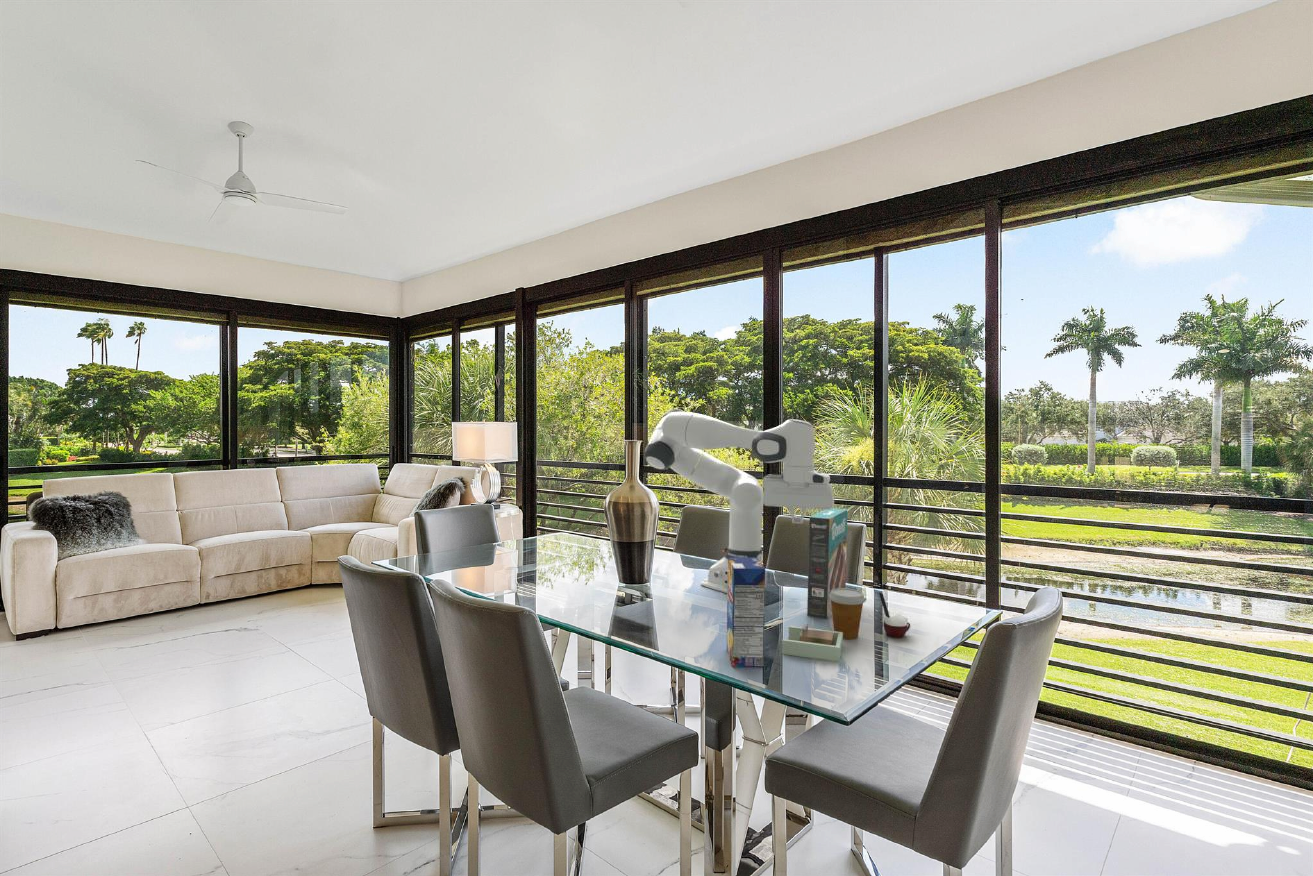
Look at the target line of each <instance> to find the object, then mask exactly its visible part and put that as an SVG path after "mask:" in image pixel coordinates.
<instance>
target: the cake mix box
mask: <svg viewBox="0 0 1313 876" xmlns="http://www.w3.org/2000/svg"><path fill="white" fill-rule="evenodd" d="M848 510H849V509H848V508H847V509H846V508H836V507H833V508H832V509H831V510H826V509H822V510H821V511H819V512H817V513H814V514H813V515H810V516H809V518H808V519H809V521H808V523H809V527H808V559H807V561H808V564H807V565H808V566H807V568H808V569H807V603H806V604H807V605H806V606H807V607H806V608H807V610H806V611H807V613H806V617H807V616H808V617H811V618H819V619H825V620H828V619H829V618H831V617H832V607H831V600H830V597H829V594H830V593H831V590H833V589H837V588H847V587H846V583H847V582H846V581H847V547H848V546H847V544H848Z"/></svg>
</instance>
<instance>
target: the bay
mask: <svg viewBox="0 0 1313 876" xmlns="http://www.w3.org/2000/svg"><path fill="white" fill-rule="evenodd" d="M803 627H804V626H803ZM803 627H801V626H795V625H788V639H786V638H783V639H782V641H781V642H782V644H781V654H782V655H787V656H788V655H789V656H794V657H802V658H809V659H816V660H817V659H818V660H824V661H830V662H838V663H839V662H840V660H841V654H842V651H843V650H842V649H843V644H844V643H843V641H844V640H843V632H837V631H834V630H827V629H826V630H825V629H820V628H818V629H817V628H812V627H811V628H810V627H808V629H810V630H818V631H826V632H834V646H833V645H825V644H818V643H810V642H802V641H799V636H800V633H801V631H802V629H803Z"/></svg>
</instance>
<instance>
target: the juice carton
mask: <svg viewBox="0 0 1313 876" xmlns="http://www.w3.org/2000/svg"><path fill="white" fill-rule="evenodd" d="M765 595H766V568H765V566H764V565H763V563H762V564H761V562H760V561H759V559H758V558H750V557H728V594H727V599H726V601H727V602H726V603H727V604H726V605H727V606H726V607H727V608H726V609H727V611H726V615H727V616H726V652H727V655H728V658H729V662H730V665H731V667H732V668H737V669H738V668H741V669H743V668H744V669H745V668H748V669H749V668H750V669H751V668H752V669H754V668H755V669H763V668H764V653H765V652H764V650H765V647H764V645H765V643H764V642H765V600H766V596H765Z"/></svg>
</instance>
